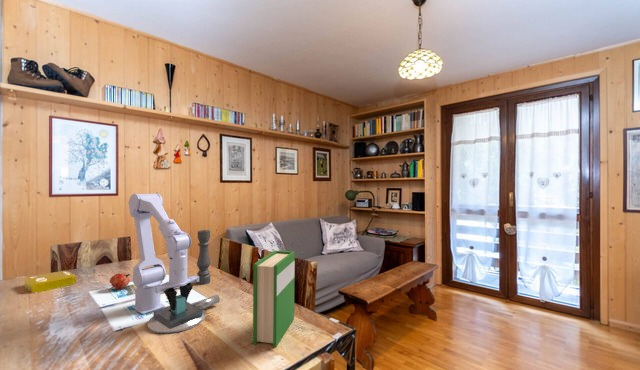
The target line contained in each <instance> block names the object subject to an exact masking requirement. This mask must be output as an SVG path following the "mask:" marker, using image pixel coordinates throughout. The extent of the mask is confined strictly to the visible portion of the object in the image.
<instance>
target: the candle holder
mask: <svg viewBox="0 0 640 370" xmlns="http://www.w3.org/2000/svg"><path fill="white" fill-rule="evenodd" d="M210 238H211V230H209V229H202V230H201V229H200V230H198V231H197V240H198V242H199V243H197V245H198V247H199V253H198V256H197V257H198V258H197V260H196V261H197V262H196V267H197V268H198V272H197V273H196V274H197V275H196V276H199V282H196V285H199V286H200V285H201V286H204V285H208V284H210V283H211V274H210V273H211V271H210V270H209V268H210V265H211V259H210V255H209V246H210V242H209V241H210Z"/></svg>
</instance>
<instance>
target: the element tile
mask: <svg viewBox="0 0 640 370" xmlns="http://www.w3.org/2000/svg"><path fill="white" fill-rule="evenodd" d="M76 275H77V274H74V273H72V272H70V271H69V270H59V271H55V272H50V273H45V274H40V275H35V276H29V277H25V279H24V288H25V289H26V288H27V289H28V290H27V289H26V290H27V291H29V292H30V291H31V292H34V293H33V294H36V293H35V292H38V293H42V291H43V292H48V291H50V290H54V289H55V290H56V289H60V288H64V287H68V286H72V285H75V284H76V283H77V282H76V281H77V276H76ZM31 292H30V293H31Z"/></svg>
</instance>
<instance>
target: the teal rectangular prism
mask: <svg viewBox="0 0 640 370" xmlns="http://www.w3.org/2000/svg"><path fill="white" fill-rule="evenodd" d="M186 302H187V301H186V298H185V297H183V296H181V295H180V294H178V295H176V307H175V310H172V309H171V313H173V314H175V315H176V314H179V313H182V312H184V311H186Z"/></svg>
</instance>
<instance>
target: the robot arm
mask: <svg viewBox="0 0 640 370" xmlns="http://www.w3.org/2000/svg"><path fill="white" fill-rule="evenodd" d="M163 202H164V199H163V197H162V195H161V194H160V193H158V192H157V193H156V192H155V193H132V194H131V196H130V197H129V199H128V209H129V213H130V217H132V218H134V225H135V232H136V239H137V246H138V253H139V261H138V263H137V264H135V265H134V267H132V282H133V285H134V286H135V287H136V288H135V290H134V291H135V292H134V295H135V296H134V301H135V302H134V305H132V306H131V308H132V309H134V310H135V311H137V312H138V313H139V314H141V315H144V314H148V313H151V312H153V311H155V310H158V309H161V308H164V307H166V306H165V305H164V304H163V303H161V293H162V292H163V293H164V294H165V295H164V296H166V298H167V300H168V304H169V306H170V308H171V309H172V310H175V307H176V296H178V295H177V294H178V291H177V290H176V289H177V288H179V293H180V294H179V295H181V296H183V297H185V298H186V302H188V301H187V300H188V298H189V296H190V293H191V291H192V290H193V287H194V286H193V283H197V282H199V276H197V275H193V276H188V250H189V249H190V248H191V246H192V238H191V236H190V234H189V233H188V232H185V231H182V230H181V228H180V227H179V225H178V224H177V223H176V221H175V219H172V218H169V216H168V214H167V212H166V210H165V209H164V206H163V205H164V204H163ZM151 217H153V218H154V219H155V220H156V222H157V223H158V227H157V228H158V230H159V232H160V233H161V235H162V237H163V238H164V240H165V243H164V244H165V249H166V251H167V252H166V253H167V257H168V261H169V262H168V281H166V282H163V281H164V280H165V279H166V276H167V271H166V268H165V265H164V262H163V260H161V259H159V258H157V257H156V251H155V244H154V238H153V233H152V232H153V231H152V225H151Z"/></svg>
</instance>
